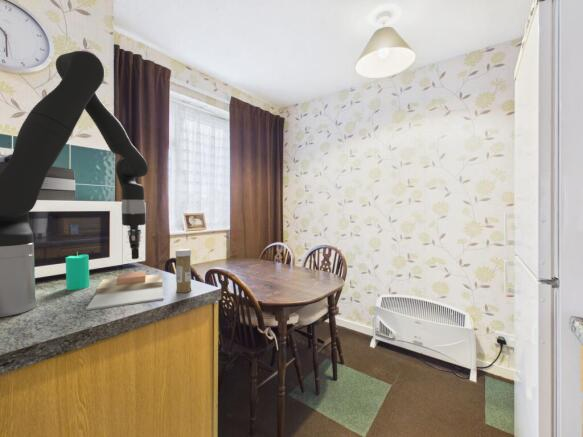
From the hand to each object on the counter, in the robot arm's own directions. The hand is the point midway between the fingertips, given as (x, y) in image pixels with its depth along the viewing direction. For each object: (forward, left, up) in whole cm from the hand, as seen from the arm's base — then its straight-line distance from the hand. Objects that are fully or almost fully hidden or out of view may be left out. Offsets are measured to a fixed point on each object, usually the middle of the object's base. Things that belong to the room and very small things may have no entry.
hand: (135, 258), depth 97 cm
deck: (0, -10, -8) cm, 13 cm away
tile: (0, -10, -6) cm, 11 cm away
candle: (-16, -3, -8) cm, 18 cm away
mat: (0, -23, -8) cm, 24 cm away
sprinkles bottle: (+15, -23, -8) cm, 28 cm away
